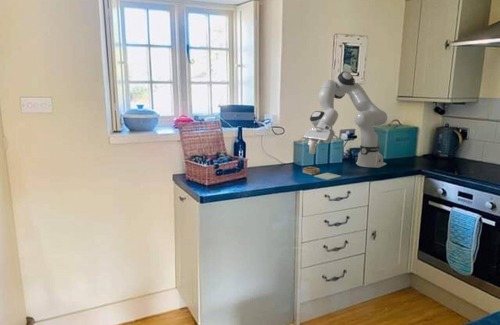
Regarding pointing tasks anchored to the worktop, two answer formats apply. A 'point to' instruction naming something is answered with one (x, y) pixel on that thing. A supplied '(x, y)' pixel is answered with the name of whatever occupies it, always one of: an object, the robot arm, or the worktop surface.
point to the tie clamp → (311, 170)
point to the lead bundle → (312, 146)
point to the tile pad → (327, 176)
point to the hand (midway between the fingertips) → (311, 145)
